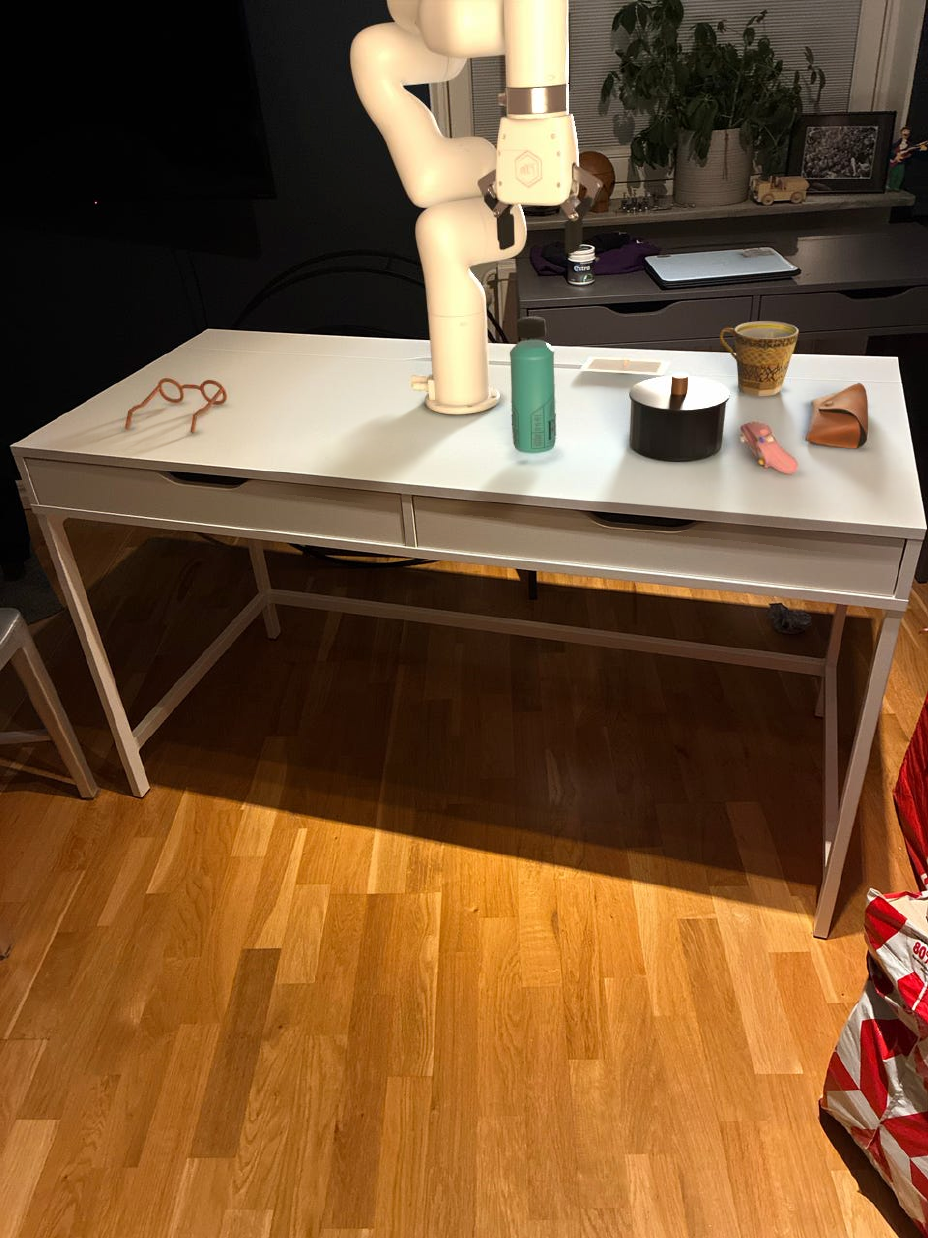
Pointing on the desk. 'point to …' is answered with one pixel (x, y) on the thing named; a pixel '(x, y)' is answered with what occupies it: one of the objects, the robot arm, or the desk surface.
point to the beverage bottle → (532, 389)
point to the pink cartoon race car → (767, 447)
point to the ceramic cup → (762, 355)
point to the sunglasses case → (840, 419)
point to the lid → (679, 394)
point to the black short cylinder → (676, 434)
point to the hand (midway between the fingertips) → (539, 249)
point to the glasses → (201, 388)
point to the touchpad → (625, 365)
